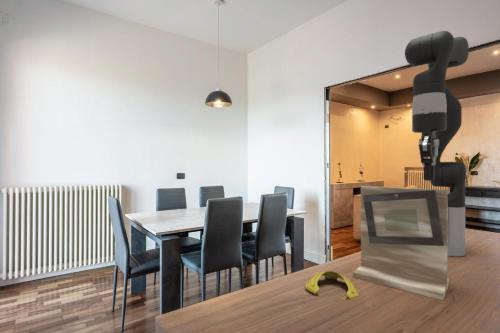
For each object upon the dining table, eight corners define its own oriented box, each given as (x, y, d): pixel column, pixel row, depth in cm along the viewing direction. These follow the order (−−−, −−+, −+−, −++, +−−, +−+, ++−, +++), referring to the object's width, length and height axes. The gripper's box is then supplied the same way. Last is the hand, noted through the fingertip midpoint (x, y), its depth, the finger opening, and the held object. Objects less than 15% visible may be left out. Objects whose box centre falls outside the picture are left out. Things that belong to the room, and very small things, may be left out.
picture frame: (371, 242, 84) (364, 194, 85) (444, 244, 72) (435, 189, 73) (369, 243, 82) (362, 195, 83) (443, 246, 71) (433, 190, 72)
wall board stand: (366, 265, 92) (366, 185, 92) (449, 283, 78) (449, 188, 78) (352, 277, 83) (352, 188, 83) (443, 300, 69) (443, 192, 68)
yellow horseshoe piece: (330, 277, 84) (330, 263, 84) (368, 294, 73) (368, 278, 73) (297, 288, 77) (297, 272, 77) (333, 308, 66) (333, 290, 66)
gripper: (417, 117, 81) (417, 178, 81) (406, 111, 71) (406, 181, 71) (449, 114, 76) (449, 179, 76) (442, 107, 66) (443, 182, 66)
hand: (429, 180), depth 74 cm, fingers closed
